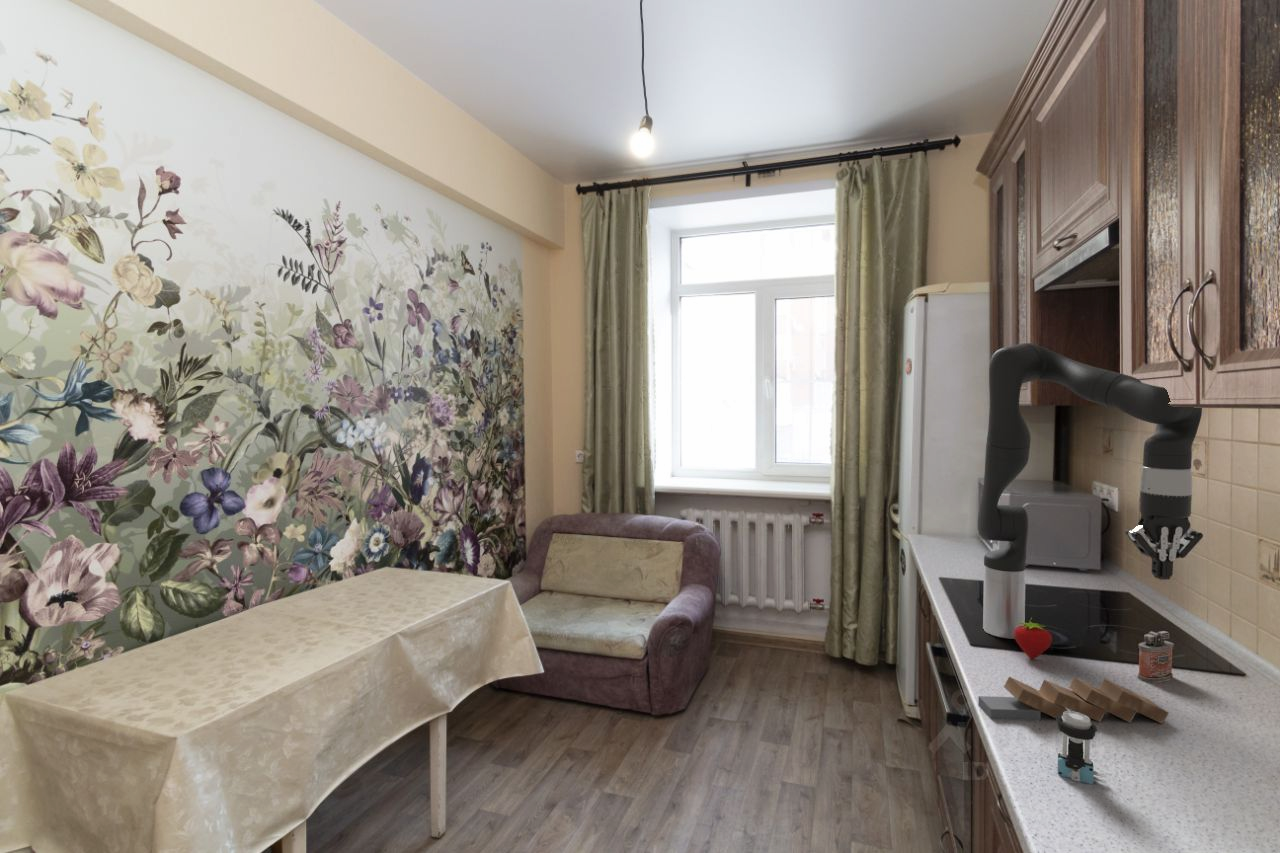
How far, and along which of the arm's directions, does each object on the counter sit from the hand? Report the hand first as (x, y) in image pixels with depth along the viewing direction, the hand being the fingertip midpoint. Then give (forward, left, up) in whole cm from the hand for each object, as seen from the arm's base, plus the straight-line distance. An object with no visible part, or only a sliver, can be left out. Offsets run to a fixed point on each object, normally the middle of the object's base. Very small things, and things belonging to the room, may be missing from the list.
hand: (1161, 578), depth 118 cm
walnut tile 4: (+4, -21, -25) cm, 33 cm away
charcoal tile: (+4, -26, -25) cm, 36 cm away
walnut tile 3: (+4, -14, -25) cm, 29 cm away
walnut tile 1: (+4, -3, -25) cm, 25 cm away
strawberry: (-21, -13, -26) cm, 36 cm away
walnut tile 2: (+4, -9, -25) cm, 26 cm away
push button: (+25, -29, -26) cm, 46 cm away
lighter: (-13, +8, -26) cm, 30 cm away
